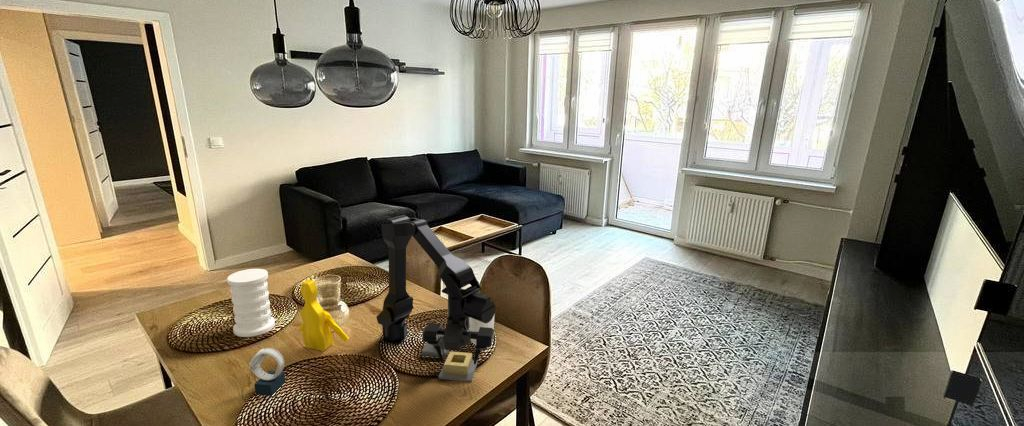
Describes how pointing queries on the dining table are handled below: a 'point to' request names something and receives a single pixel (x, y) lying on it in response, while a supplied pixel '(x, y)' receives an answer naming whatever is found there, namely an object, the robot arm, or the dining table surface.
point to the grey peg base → (431, 351)
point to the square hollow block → (458, 363)
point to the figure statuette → (316, 320)
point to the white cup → (477, 324)
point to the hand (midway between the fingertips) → (458, 362)
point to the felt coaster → (459, 378)
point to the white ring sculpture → (270, 379)
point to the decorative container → (250, 302)
